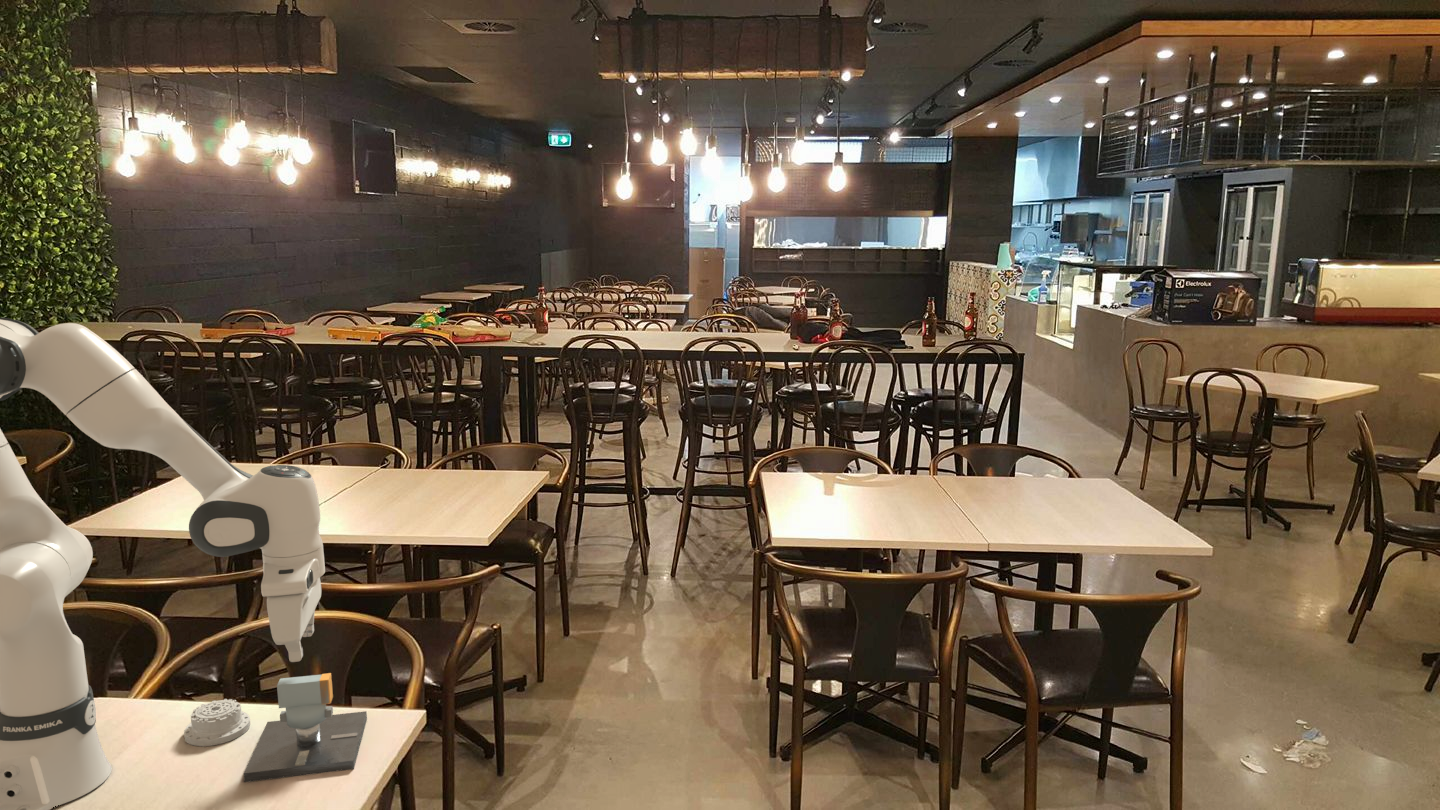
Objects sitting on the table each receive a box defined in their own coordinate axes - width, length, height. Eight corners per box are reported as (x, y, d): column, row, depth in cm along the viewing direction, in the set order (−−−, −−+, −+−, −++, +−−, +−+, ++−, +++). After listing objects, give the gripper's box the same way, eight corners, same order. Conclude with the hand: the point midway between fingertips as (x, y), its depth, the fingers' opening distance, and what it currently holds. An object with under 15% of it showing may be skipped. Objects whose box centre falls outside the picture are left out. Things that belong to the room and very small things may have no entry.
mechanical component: (170, 744, 156) (222, 751, 154) (168, 719, 155) (220, 726, 153) (213, 715, 165) (263, 721, 163) (211, 691, 165) (261, 697, 163)
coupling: (277, 731, 149) (273, 690, 148) (285, 712, 155) (281, 673, 154) (329, 725, 151) (326, 684, 150) (335, 707, 157) (332, 668, 156)
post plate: (244, 782, 145) (241, 752, 144) (268, 729, 160) (265, 702, 159) (353, 769, 148) (351, 740, 147) (366, 719, 164) (365, 692, 163)
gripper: (286, 546, 158) (294, 623, 160) (257, 590, 138) (266, 677, 141) (326, 543, 159) (333, 619, 162) (303, 586, 140) (311, 672, 142)
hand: (302, 647), depth 151 cm, fingers open, 8 cm apart
